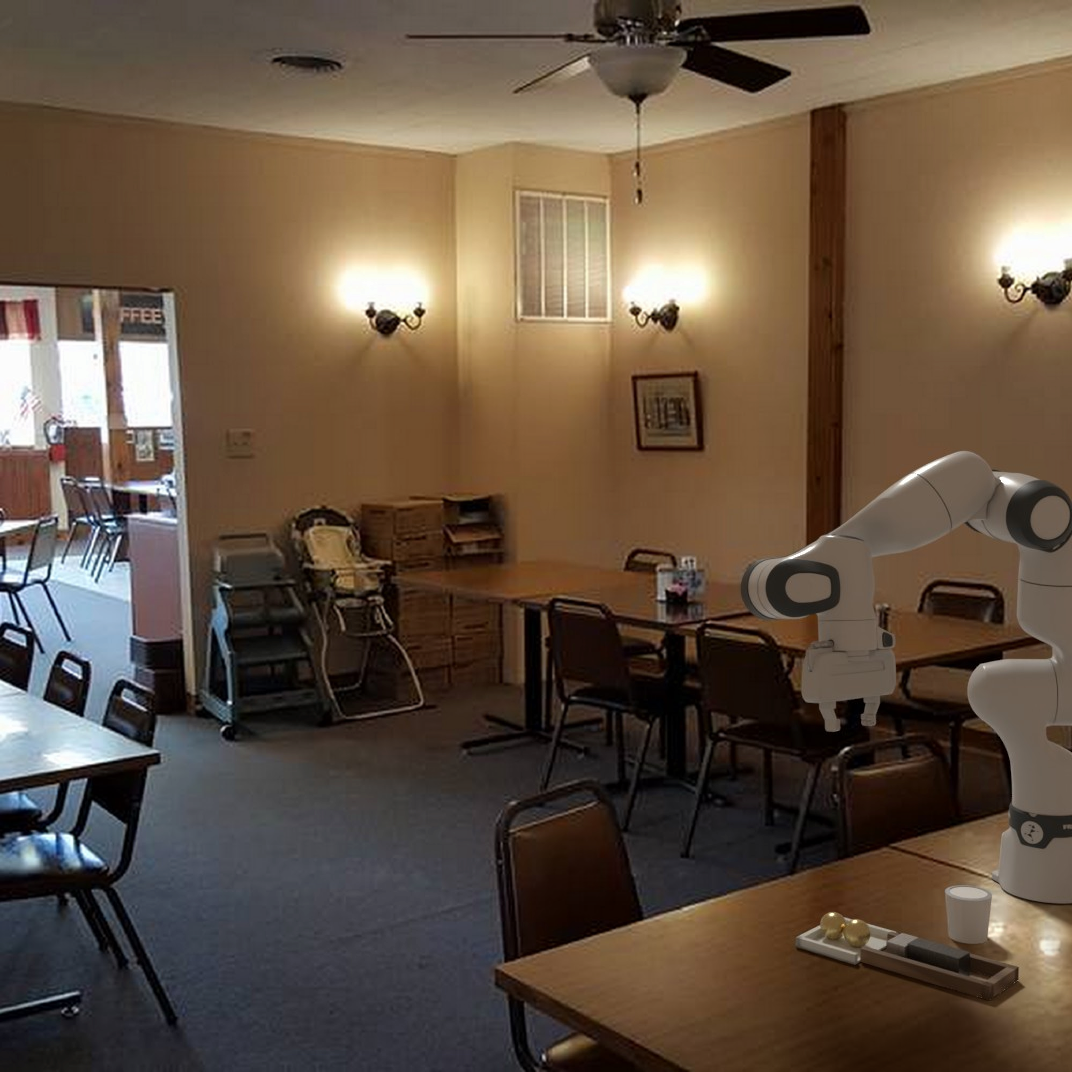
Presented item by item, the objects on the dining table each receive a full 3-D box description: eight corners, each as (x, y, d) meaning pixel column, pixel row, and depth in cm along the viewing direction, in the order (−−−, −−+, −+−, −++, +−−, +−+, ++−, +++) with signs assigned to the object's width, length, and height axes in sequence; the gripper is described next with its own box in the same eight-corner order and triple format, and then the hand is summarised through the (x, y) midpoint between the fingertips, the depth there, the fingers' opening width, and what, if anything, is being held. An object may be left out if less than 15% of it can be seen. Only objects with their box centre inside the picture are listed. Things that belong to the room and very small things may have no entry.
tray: (838, 925, 205) (838, 915, 205) (896, 941, 198) (896, 931, 198) (795, 946, 197) (795, 937, 197) (854, 964, 190) (854, 954, 190)
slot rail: (891, 944, 197) (891, 931, 197) (1018, 980, 183) (1018, 966, 183) (860, 961, 191) (860, 948, 191) (989, 1000, 177) (989, 986, 177)
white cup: (994, 946, 196) (995, 901, 195) (946, 944, 197) (947, 898, 197) (988, 930, 202) (989, 885, 202) (942, 927, 204) (942, 883, 203)
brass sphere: (871, 947, 197) (849, 931, 199) (879, 926, 195) (857, 910, 198) (856, 956, 194) (834, 939, 196) (864, 935, 192) (842, 918, 195)
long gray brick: (902, 930, 193) (972, 950, 185) (902, 954, 194) (972, 975, 186) (886, 939, 190) (956, 960, 182) (886, 963, 190) (956, 985, 183)
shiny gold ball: (846, 940, 200) (826, 923, 202) (856, 920, 198) (835, 903, 201) (831, 948, 197) (811, 931, 199) (841, 928, 195) (820, 911, 198)
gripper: (824, 642, 194) (827, 735, 193) (901, 635, 208) (905, 723, 207) (789, 641, 199) (793, 733, 198) (867, 635, 212) (871, 721, 212)
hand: (851, 728), depth 203 cm, fingers open, 8 cm apart
